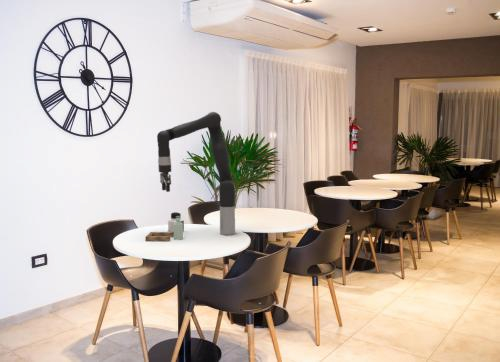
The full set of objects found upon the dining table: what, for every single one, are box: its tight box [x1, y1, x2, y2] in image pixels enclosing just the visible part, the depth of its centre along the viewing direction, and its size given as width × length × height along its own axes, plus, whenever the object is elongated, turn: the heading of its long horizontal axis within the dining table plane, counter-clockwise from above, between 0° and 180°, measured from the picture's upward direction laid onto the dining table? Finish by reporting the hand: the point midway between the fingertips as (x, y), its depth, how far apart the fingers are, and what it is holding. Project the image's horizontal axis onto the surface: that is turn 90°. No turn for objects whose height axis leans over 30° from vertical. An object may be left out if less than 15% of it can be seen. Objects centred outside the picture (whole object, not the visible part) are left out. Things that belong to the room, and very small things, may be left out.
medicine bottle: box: [167, 211, 185, 232], centre depth 298 cm, size 7×7×12 cm
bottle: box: [173, 216, 184, 241], centre depth 278 cm, size 5×5×14 cm
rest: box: [145, 231, 174, 242], centre depth 279 cm, size 14×13×2 cm
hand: (166, 190), depth 285 cm, fingers open, 8 cm apart
